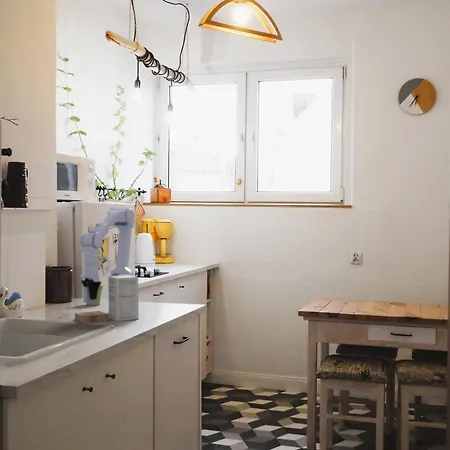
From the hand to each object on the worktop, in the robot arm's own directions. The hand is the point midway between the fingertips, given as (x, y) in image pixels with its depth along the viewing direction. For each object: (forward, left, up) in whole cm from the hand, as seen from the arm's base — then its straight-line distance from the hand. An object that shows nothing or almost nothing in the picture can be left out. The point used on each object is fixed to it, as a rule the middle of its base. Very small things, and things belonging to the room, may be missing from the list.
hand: (91, 298), depth 244 cm
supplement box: (-12, +3, -9) cm, 15 cm away
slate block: (0, 0, -2) cm, 2 cm away
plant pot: (-14, -41, -9) cm, 44 cm away
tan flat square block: (0, 0, -9) cm, 9 cm away
